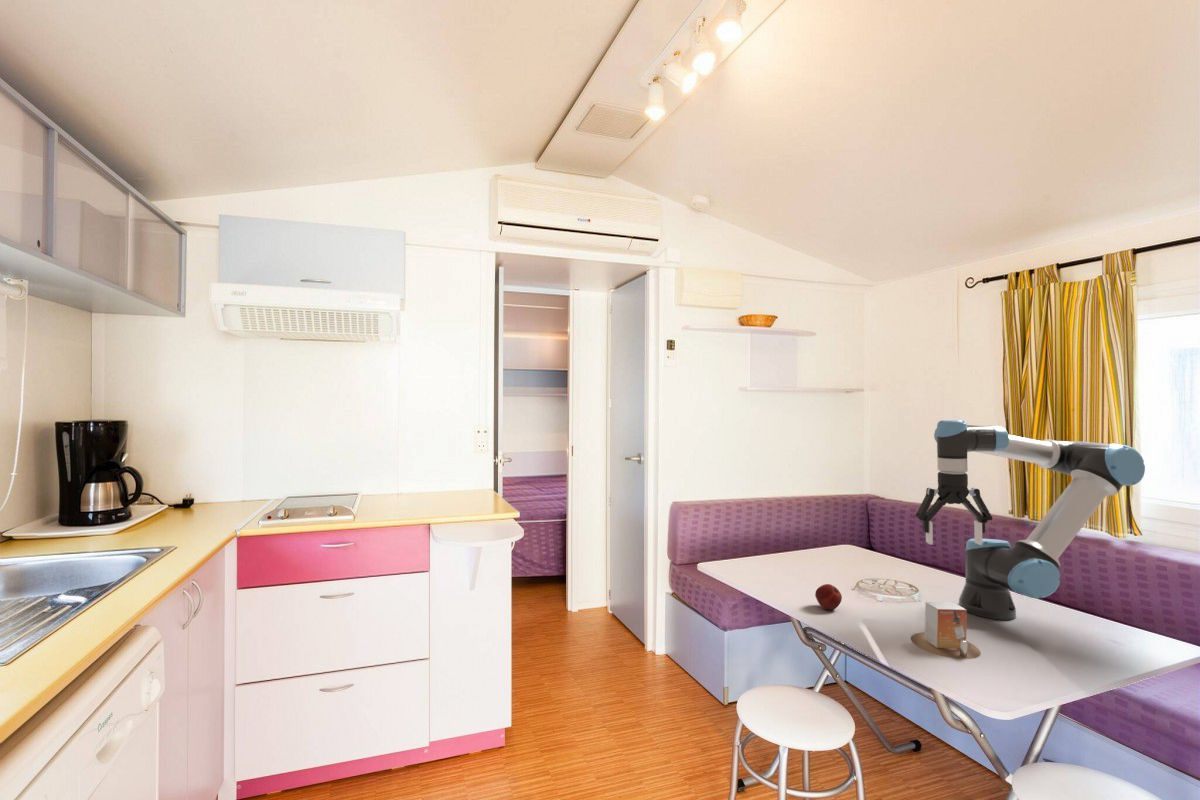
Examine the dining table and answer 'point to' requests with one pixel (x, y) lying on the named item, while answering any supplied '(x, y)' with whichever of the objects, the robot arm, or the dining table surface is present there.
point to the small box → (945, 624)
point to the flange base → (947, 652)
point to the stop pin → (963, 648)
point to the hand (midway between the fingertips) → (953, 543)
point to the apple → (828, 596)
